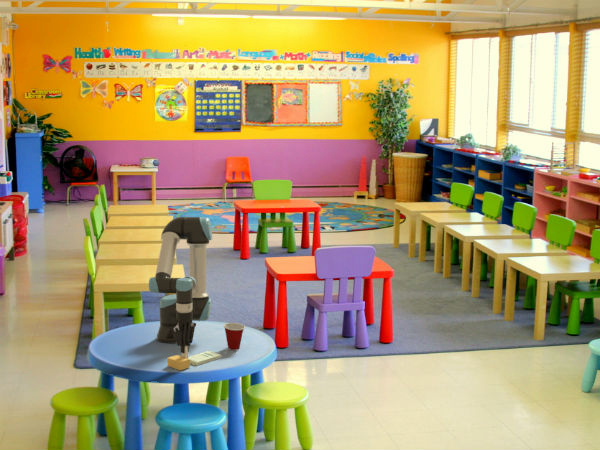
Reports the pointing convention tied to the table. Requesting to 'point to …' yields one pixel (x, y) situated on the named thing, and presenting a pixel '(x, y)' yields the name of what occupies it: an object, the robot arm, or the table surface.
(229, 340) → the plastic cup
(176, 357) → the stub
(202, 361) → the pale green flat block
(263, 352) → the table surface
